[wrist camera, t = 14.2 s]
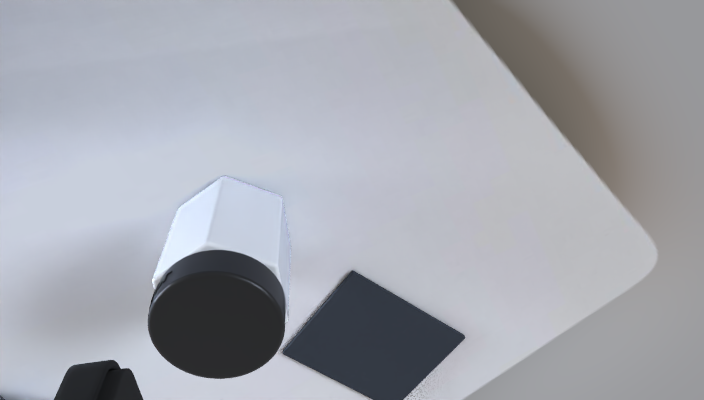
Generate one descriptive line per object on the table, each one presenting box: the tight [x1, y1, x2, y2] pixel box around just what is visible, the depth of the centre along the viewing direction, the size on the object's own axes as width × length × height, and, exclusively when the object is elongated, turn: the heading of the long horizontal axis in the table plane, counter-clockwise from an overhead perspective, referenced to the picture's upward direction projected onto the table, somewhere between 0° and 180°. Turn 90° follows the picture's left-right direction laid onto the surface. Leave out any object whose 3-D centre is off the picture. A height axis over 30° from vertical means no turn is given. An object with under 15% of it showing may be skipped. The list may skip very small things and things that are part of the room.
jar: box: [148, 176, 291, 379], centre depth 44 cm, size 9×8×12 cm
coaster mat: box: [283, 270, 465, 400], centre depth 55 cm, size 12×10×1 cm
